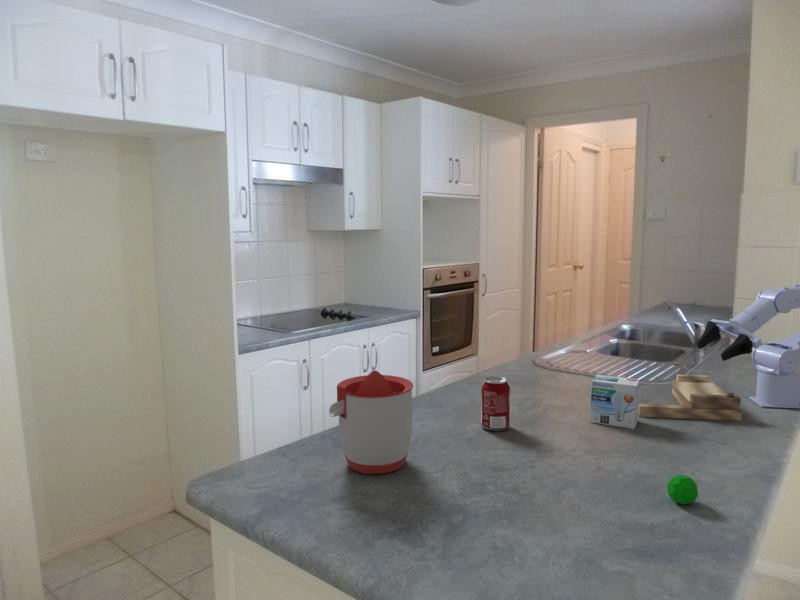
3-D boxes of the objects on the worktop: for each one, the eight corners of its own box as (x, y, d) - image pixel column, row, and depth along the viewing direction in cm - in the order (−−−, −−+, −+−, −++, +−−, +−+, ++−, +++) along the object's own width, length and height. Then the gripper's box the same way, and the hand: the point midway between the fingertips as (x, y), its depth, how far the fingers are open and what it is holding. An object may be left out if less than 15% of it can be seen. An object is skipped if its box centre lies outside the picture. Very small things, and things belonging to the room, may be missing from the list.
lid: (710, 386, 163) (711, 375, 163) (733, 404, 147) (733, 392, 147) (672, 384, 165) (672, 374, 164) (690, 402, 149) (691, 391, 149)
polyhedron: (661, 502, 104) (663, 476, 104) (672, 492, 108) (674, 468, 107) (691, 512, 101) (693, 485, 100) (701, 502, 104) (703, 476, 103)
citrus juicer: (322, 456, 126) (319, 365, 123) (398, 444, 132) (397, 358, 129) (341, 487, 111) (338, 385, 108) (425, 472, 117) (425, 375, 114)
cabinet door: (736, 407, 146) (737, 392, 146) (739, 409, 144) (740, 394, 144) (689, 405, 148) (690, 390, 148) (692, 407, 146) (693, 393, 146)
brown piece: (713, 397, 163) (714, 386, 163) (741, 420, 144) (742, 408, 144) (623, 393, 167) (623, 383, 167) (639, 416, 148) (639, 404, 148)
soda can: (508, 433, 138) (509, 384, 136) (480, 431, 139) (480, 382, 138) (509, 423, 144) (510, 376, 143) (481, 421, 146) (482, 375, 144)
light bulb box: (589, 422, 144) (590, 380, 143) (593, 414, 150) (595, 373, 149) (635, 429, 139) (637, 385, 138) (638, 420, 145) (640, 378, 144)
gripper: (722, 300, 156) (684, 330, 155) (771, 319, 144) (730, 351, 142) (728, 320, 160) (690, 349, 158) (777, 340, 147) (736, 372, 145)
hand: (710, 351), depth 150 cm, fingers open, 7 cm apart
